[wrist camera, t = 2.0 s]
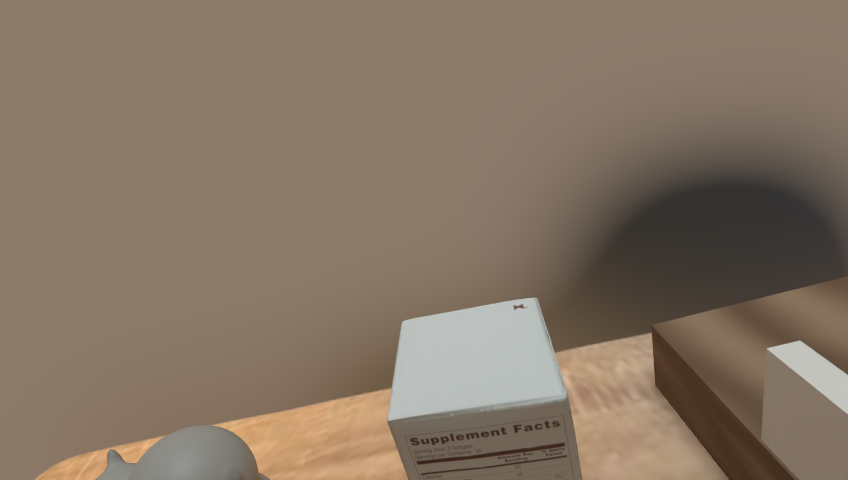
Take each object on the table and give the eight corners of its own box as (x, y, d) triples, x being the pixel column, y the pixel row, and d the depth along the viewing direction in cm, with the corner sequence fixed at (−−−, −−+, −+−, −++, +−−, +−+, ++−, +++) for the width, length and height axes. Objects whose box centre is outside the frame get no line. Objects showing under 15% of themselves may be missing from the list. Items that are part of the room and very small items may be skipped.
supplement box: (451, 482, 31) (400, 316, 26) (570, 468, 30) (540, 291, 25) (449, 611, 24) (380, 420, 19) (603, 599, 23) (572, 393, 18)
